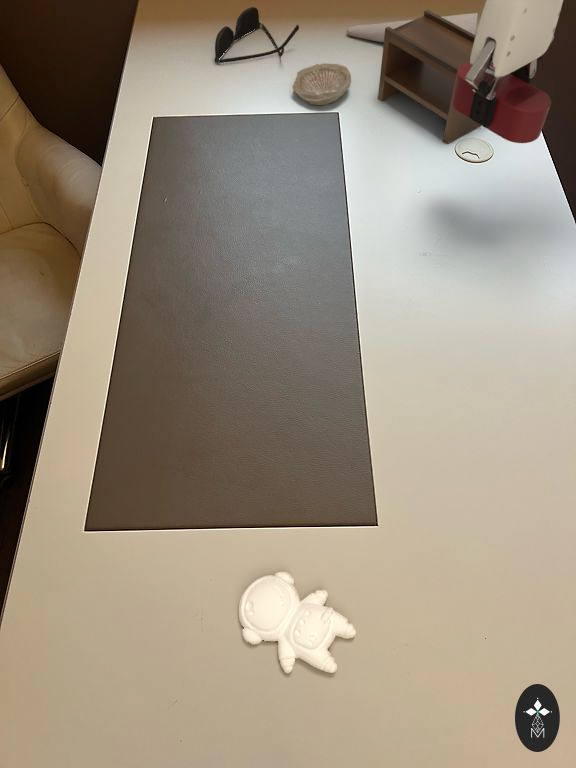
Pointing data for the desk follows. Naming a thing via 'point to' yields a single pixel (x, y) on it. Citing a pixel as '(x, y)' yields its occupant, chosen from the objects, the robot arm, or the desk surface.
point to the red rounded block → (507, 106)
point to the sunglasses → (244, 25)
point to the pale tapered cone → (378, 30)
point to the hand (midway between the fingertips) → (495, 111)
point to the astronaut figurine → (292, 621)
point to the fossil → (322, 83)
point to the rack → (427, 67)
